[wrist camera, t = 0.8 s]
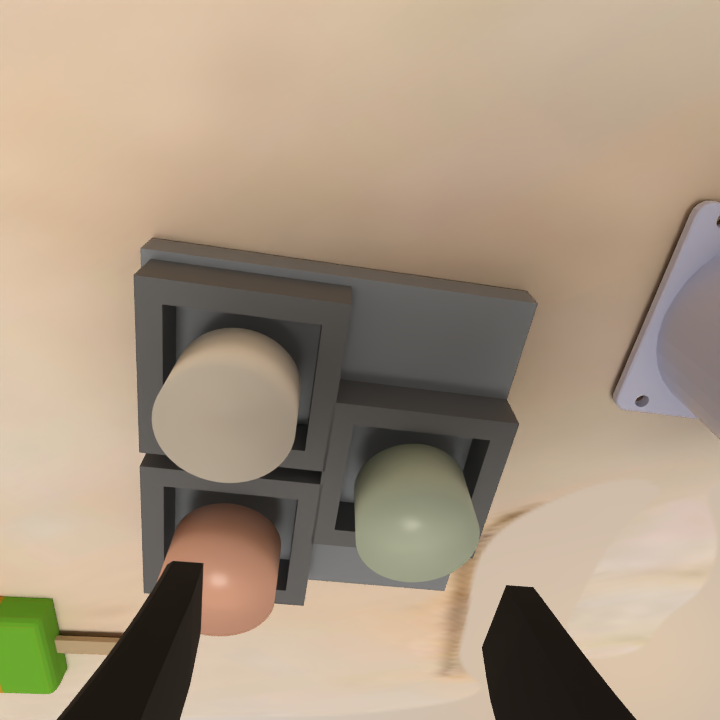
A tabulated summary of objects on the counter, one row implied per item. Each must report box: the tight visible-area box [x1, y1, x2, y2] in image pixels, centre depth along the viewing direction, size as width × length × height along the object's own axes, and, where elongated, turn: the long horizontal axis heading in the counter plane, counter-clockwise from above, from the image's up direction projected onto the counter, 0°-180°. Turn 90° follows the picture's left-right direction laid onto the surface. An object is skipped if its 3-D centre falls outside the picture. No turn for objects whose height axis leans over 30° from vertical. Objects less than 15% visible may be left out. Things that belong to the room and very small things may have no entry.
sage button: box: [354, 444, 480, 582], centre depth 19 cm, size 4×4×2 cm
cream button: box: [152, 328, 301, 483], centre depth 17 cm, size 4×4×2 cm
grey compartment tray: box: [134, 238, 538, 606], centre depth 21 cm, size 13×14×3 cm
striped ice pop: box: [0, 596, 120, 694], centre depth 27 cm, size 6×15×2 cm, turn 84°
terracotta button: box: [157, 503, 281, 636], centre depth 20 cm, size 4×4×2 cm
